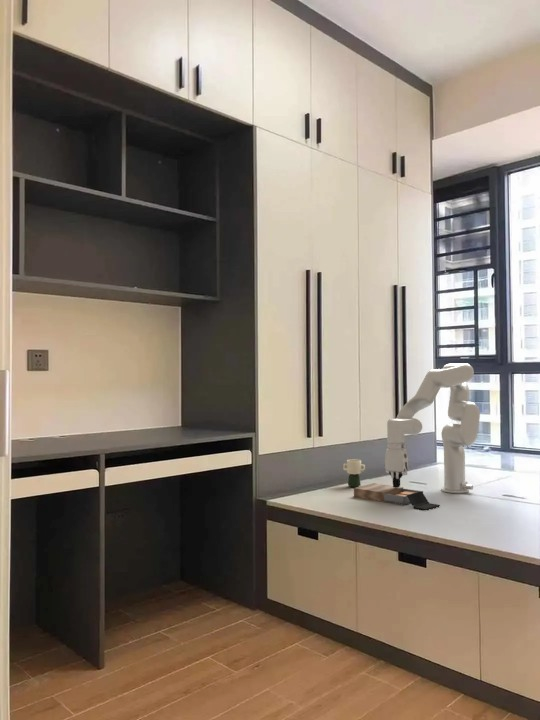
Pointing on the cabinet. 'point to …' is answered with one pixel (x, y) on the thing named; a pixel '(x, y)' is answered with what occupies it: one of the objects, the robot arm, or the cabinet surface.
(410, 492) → the tile
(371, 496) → the board
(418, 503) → the black sloped piece
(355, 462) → the character mug
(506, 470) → the cabinet surface
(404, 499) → the box
